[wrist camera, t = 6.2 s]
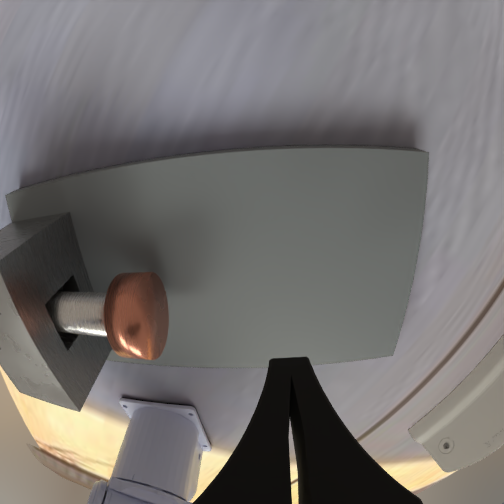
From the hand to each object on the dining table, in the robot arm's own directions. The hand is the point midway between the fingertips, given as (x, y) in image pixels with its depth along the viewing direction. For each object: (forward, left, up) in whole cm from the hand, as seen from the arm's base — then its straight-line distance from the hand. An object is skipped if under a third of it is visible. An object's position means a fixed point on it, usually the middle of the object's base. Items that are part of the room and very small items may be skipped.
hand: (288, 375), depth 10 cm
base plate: (0, +5, -8) cm, 10 cm away
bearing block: (0, +15, -7) cm, 16 cm away
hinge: (-18, -22, -9) cm, 30 cm away
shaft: (0, +14, -6) cm, 15 cm away
